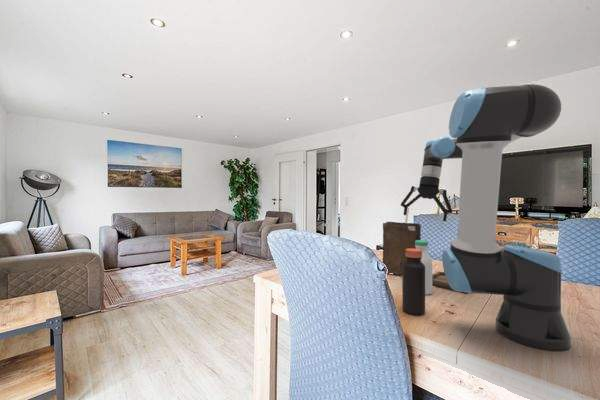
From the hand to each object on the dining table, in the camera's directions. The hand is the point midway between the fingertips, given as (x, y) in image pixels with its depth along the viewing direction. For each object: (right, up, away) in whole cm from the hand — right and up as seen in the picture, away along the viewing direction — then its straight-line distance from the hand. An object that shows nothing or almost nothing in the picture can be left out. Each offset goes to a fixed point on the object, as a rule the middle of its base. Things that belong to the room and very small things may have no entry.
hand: (422, 225), depth 114 cm
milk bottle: (-5, -25, -10) cm, 27 cm away
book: (-4, -25, +13) cm, 28 cm away
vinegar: (-16, -25, -28) cm, 41 cm away
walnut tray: (+12, -25, -1) cm, 27 cm away
